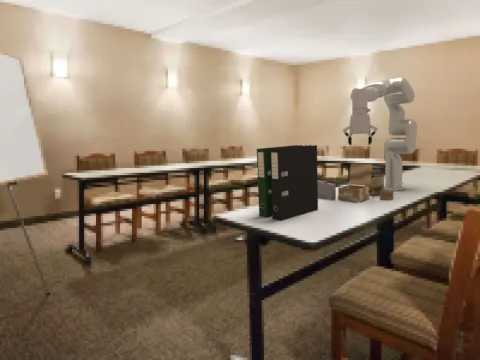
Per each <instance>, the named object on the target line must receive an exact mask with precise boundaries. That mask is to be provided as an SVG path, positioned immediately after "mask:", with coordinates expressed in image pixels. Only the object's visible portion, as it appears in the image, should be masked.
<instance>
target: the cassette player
mask: <svg viewBox="0 0 480 360" xmlns="http://www.w3.org/2000/svg"><path fill="white" fill-rule="evenodd" d="M336 186H337V185H336V183H331V182H329V181H327V180H318V199H323V200H327V201H328V200H329V201H335V200H337V197H336V196H337V194H336V193H337V190H336V189H337V188H336Z"/></svg>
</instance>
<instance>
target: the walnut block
mask: <svg viewBox="0 0 480 360" xmlns="http://www.w3.org/2000/svg"><path fill="white" fill-rule="evenodd" d="M394 192H395V191H394V190H386V189H384V190H381V191H380V195H379V198H380V201H387V200H388V202H389V201H392V200H394Z"/></svg>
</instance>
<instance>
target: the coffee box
mask: <svg viewBox="0 0 480 360" xmlns="http://www.w3.org/2000/svg"><path fill="white" fill-rule="evenodd" d="M384 186H385V167H383V166H372V175H371V186H369V197H370V196H375V197H376V196H379V197H380V191H381V190H384Z"/></svg>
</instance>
